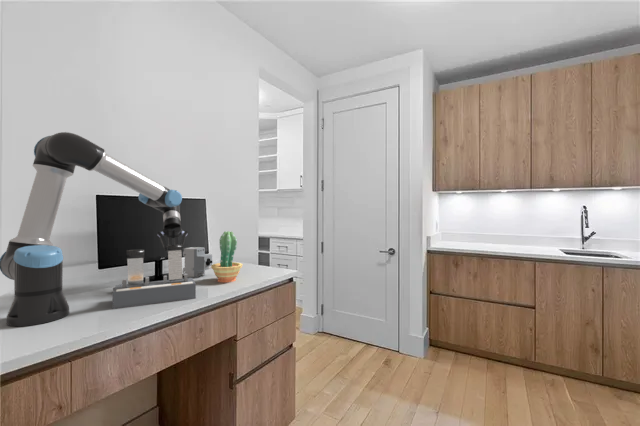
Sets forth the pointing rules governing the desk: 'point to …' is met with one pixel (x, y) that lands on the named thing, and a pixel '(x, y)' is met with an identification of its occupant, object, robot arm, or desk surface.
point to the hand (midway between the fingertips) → (174, 262)
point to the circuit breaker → (196, 261)
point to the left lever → (135, 266)
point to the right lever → (175, 262)
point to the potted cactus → (227, 259)
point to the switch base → (153, 292)
